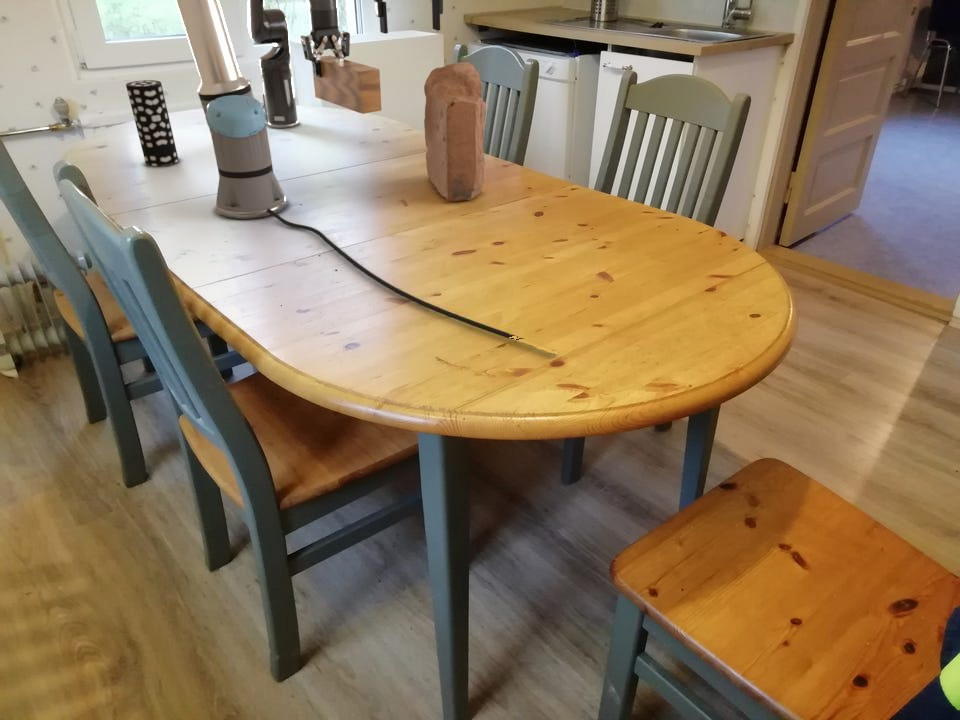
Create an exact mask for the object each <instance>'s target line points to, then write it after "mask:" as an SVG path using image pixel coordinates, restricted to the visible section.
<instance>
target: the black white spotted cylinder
mask: <svg viewBox="0 0 960 720" xmlns="http://www.w3.org/2000/svg"><path fill="white" fill-rule="evenodd" d="M125 87H126V91H127V95H128V99H129V103H130V107H131V110H132V115H133V118H134V122H135V123H134V124H135V127H136V130H137V134H138V139H139V143H140V146H141V150H142V155H143V158H144V163H145V164H146V165H147V166H151V167H164V166H170V165H174V164H176V163H178V162H179V155H178V150H177V146H176V142H175V137H174V133H173V128H172V125H171V121H170V116H169V111H168V107H167V103H166V98H165V93H164V89H163V84H162V81H161V80H155V79H154V80H153V79H151V80H150V79H145V80H144V79H141V80H134V81H130V82H129V81H128V82H127V83H126V84H125Z"/></svg>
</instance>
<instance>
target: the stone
mask: <svg viewBox="0 0 960 720" xmlns="http://www.w3.org/2000/svg"><path fill="white" fill-rule="evenodd" d="M423 90H424V95H425V105H424V106H425V107H424V119H423V122H424V123H423V124H424V125H423V127H424V139H425V140H424V141H425V147H426V150H427V151H426V152H425V162H426V163H425V164H426V172H427V176H428V179H429V180H430V182H431V183H432V184H433V186H434V187H435V188H436V189H437V191H438V193H439V194H440V195H441V196H442V197H444V198H445V199H446V200H447V201H448V202H459V201H467V200H468V201H471V200H473V199H474V198H476V196H478V195H480V194H481V193H482V188H483V185H484V183H485V164H486V162H485V154H484V140H485V139H484V138H485V135H484V134H485V124H486V116H487V102H486V101H484V100H483V98H482V92H483V91H482V82H481V78H480V73H479V71H478V70H476V68H475V66H474V65H473V64H472V63H471V62H467V61H462V62H455V63H450V64H446V65H445V66H442V67H436V68H434V69H432V70H431V71H430V73H429V74H428V77H427V78H426V79H425V82H424V86H423Z"/></svg>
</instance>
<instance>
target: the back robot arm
mask: <svg viewBox="0 0 960 720" xmlns="http://www.w3.org/2000/svg"><path fill="white" fill-rule="evenodd" d="M246 1H247V8H246V18H247V19H246V20H247V30H248V34H249V37H250V39H251V41H252V42H253V44H256V45H272V47H271V49H270V50H269V51H268V52H267V53H265V54H264V55H262V56H260V57H259V59H258V64H259V71H260V77H261V83H262V89H263V92H262V94H261V95H262V101H263V102H262V103H263V104H262V106H263V109H264V112H265V115H266V125H268V127H270V128H274V129H287V128H293V127H297V126H298V125H299V119H298V111H297V104H296V95H295V88H294V80H293V73H292V65H291V59H292V58H291V57H292V54H291V42H290V31H289V24H288V20H287V17H286V14H285V12H283V10H281V9H279V8H268V9H265V0H246ZM307 10H308V20H309V28H310V33H309V34H308V35H300V38H299V39H300V42H301V47H302V51H303V57H304V59H305V60H306V61H310V62H311V65H312V64H313V69H312V74H313V73H314V75H315V76H316V77H318V78H320V77H322V74H321V63H319V61H320V58H321V57H322V55H323V54H324V51H327V50H330V51H331V52H332V53H333V56H334V57H338V58H341V59H345V58H346V57H349V56H350V48H351V46H350V45H351V34H350V32H348V31H340V28H339V27H340V21H339V18H340V17H339V7H338V0H307ZM339 40H340V43H339ZM312 42H313V46H312V45H311V44H312Z"/></svg>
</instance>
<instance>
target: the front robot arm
mask: <svg viewBox="0 0 960 720" xmlns="http://www.w3.org/2000/svg"><path fill="white" fill-rule="evenodd" d="M174 1H175V4H176V7H177V9H178V13H179V15H180V16H179V17H180V19H181V22H182V25H183V29H184V32H185V35H186V38H187V40H188V44H189V47H190V50H191V53H192V56H193V60H194V62H195V65H196V69H197V72H198V75H199V78H200V85H199V87H198V89H197V94H198V97H199V100H200V103H201V106H202V111H203V113H204V116H205V120H206V124H207V126H208V129H209V133H210V136H211V142H212V147H213V151H214V156H215V161H216V167H217V169H218V170H217V172H218V185H217V193H216V201H215V206H216V210H217V213H218V214H219V215H221V216H223V217H225V218H229V219H236V220H253V219H260V218H261V219H262V218H265V217H266V218H267V217H270V216H272V217H274V218H275V219H277V220H278V221H279V222H281V224H284V225H286V226H288V227H291V228H296V229H301V230H306V231H309V232H312V233H314V234H316V235H317V236H318V237H320V238H321V239H322V240H323V241H324V242H325V244H327V245H329V246H330V247H331V248H332V249H333V250H335V251H336V252H337V253H338V254H339V255H340V256H342V257H343V258H344V259H345V260H346V261H348V262H349V263H350V264H352V266H354V267H355V268H356V269H358V270H359V271H360V272H362V273H364V274H365V275H367V276H368V277H369V278H370V279H372V280H373V281H375V282H377V283H379V284H380V285H382V286H384V287H385V288H387V289H388V290H390V291H392V292H393V293H396V294H397V295H399V296H402V297H404V298H406V299H407V300H409V301H412V302H414V303H415V304H418V305H420V306H422V307H425V308H427V309H429V310H431V311H434V312H437V313H439V314H441V315H444V316H446V317H449V318H451V319H453V320H457V321H459V322H462V323H465V324H467V325H470V326H473V327H475V328H478V329H481V330H483V331H486V332H489V333H491V334H495V335H498V336H499V337H504V338H506V339H509V337H512V336H517V335H515V334H512V333H509V332H506V331H504V330H501V329H498V328H496V327H492V326H489V325H486V324H484V323H482V322H478V321H476V320H473V319H470V318H467V317H465V316H462V315H460V314H456V313H453V312H452V311H449V310H446V309H444V308H442V307H439V306H438V305H437V306H436V305H434V304H432V303H430V302H427V301H424V300H422V299H420V298H418V297H416V296H414V295H412V294H410V293H408V292H405V291H403V290H402V289H400V288H398V287H396V286H394V285H392V284H391V283H389V282H387V281H386V280H383V278H381V277H379V276H377V275H376V274H375V273H373V272H371V271H370V270H369V269H367V268H366V267H364V266H363V265H361V264H360V263H359V262H357V261H356V260H355V259H353V258H352V257H351V256H350V255H348V253H346V252H345V251H343V250H342V249H341V248H340V247H339V246H337V244H335V243H334V242H333V241H331V240H330V239H329V238H328V237H326V235H325V234H324V233H322V232H321V231H320V230H318V229H316V228H315V227H312V226H309V225H304V224H298V223H294V222H290V221H288V220H286V219H284V218H283V217H282V216H280V215H279V214H278V213H280V212H282V211H283V210H285V209H286V207H287V199H286V194H285V193H284V191H283V189H282V187H281V184H280V182H279V180H278V179H277V177H276V175H275V172H274V167H273V160H272V154H271V148H270V142H269V141H270V140H269V135H268V128H267V122H266V115H265V109H264V108H263V106H262V105H263V104H262V103H261V101H260V100H258V99H256V98H255V97H254V93H253V88H252V85H251V82H250V80H249V79H247V78H246V77H244V76H242V74H241V72H240V68H239V64H238V62H237V59H236V58H237V57H236V54H235V51H234V48H233V44H232V41H231V37H230V34H229V30H228V27H227V24H226V20H225V16H224V13H223V9H222V6H221V3H220V0H174ZM373 1H374V7H375V8H374V9H375V16H376V17H377V18H379V29H380V33H381V34H389V30H388V29H389V27H388V13H387V12H388V11H387V1H384V0H373ZM431 14H432V15H431V17H432V21H431V22H432V30H435V31H441V15H443V14H444V0H431ZM510 334H511V335H510ZM518 337H519V336H517V338H518ZM511 339H514V338H511ZM511 339H510V340H511ZM519 339H524V338H523V337H521V338H519ZM519 339H516V340H519Z"/></svg>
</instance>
